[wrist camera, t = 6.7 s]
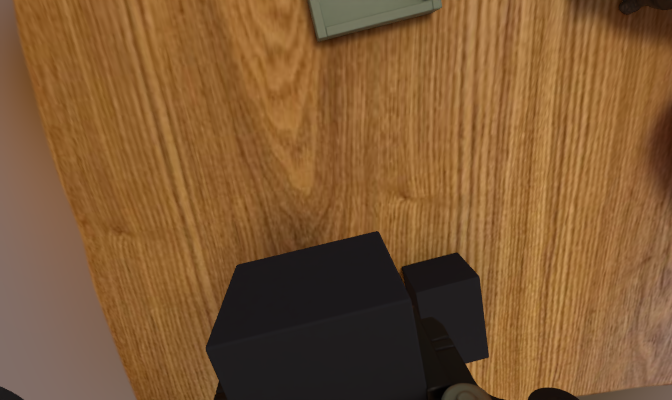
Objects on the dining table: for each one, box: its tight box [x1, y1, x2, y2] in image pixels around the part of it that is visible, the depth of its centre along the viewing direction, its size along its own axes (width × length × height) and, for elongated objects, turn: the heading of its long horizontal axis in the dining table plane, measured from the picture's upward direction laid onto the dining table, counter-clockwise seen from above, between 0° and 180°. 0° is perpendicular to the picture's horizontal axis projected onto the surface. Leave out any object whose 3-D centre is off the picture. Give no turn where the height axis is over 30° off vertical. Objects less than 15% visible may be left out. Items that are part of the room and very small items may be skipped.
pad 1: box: [206, 231, 428, 400], centre depth 11 cm, size 5×8×4 cm, turn 13°
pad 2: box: [402, 253, 489, 364], centre depth 30 cm, size 5×8×4 cm, turn 14°
